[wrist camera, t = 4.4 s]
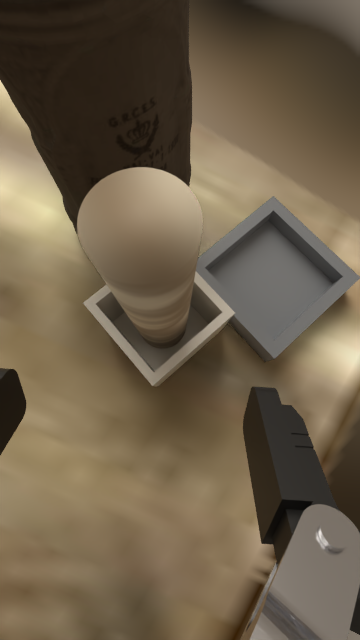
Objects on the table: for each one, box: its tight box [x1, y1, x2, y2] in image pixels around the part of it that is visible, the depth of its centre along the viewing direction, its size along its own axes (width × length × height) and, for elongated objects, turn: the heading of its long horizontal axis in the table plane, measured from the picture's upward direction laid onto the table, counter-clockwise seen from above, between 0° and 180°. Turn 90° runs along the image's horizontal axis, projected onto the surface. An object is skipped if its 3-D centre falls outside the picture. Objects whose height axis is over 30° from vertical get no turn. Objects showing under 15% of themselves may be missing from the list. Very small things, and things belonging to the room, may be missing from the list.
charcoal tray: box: [196, 196, 360, 361], centre depth 25 cm, size 10×10×2 cm
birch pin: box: [77, 167, 203, 348], centre depth 17 cm, size 4×4×16 cm
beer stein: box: [0, 0, 192, 235], centre depth 19 cm, size 15×11×20 cm
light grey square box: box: [83, 272, 235, 386], centre depth 23 cm, size 7×7×6 cm
